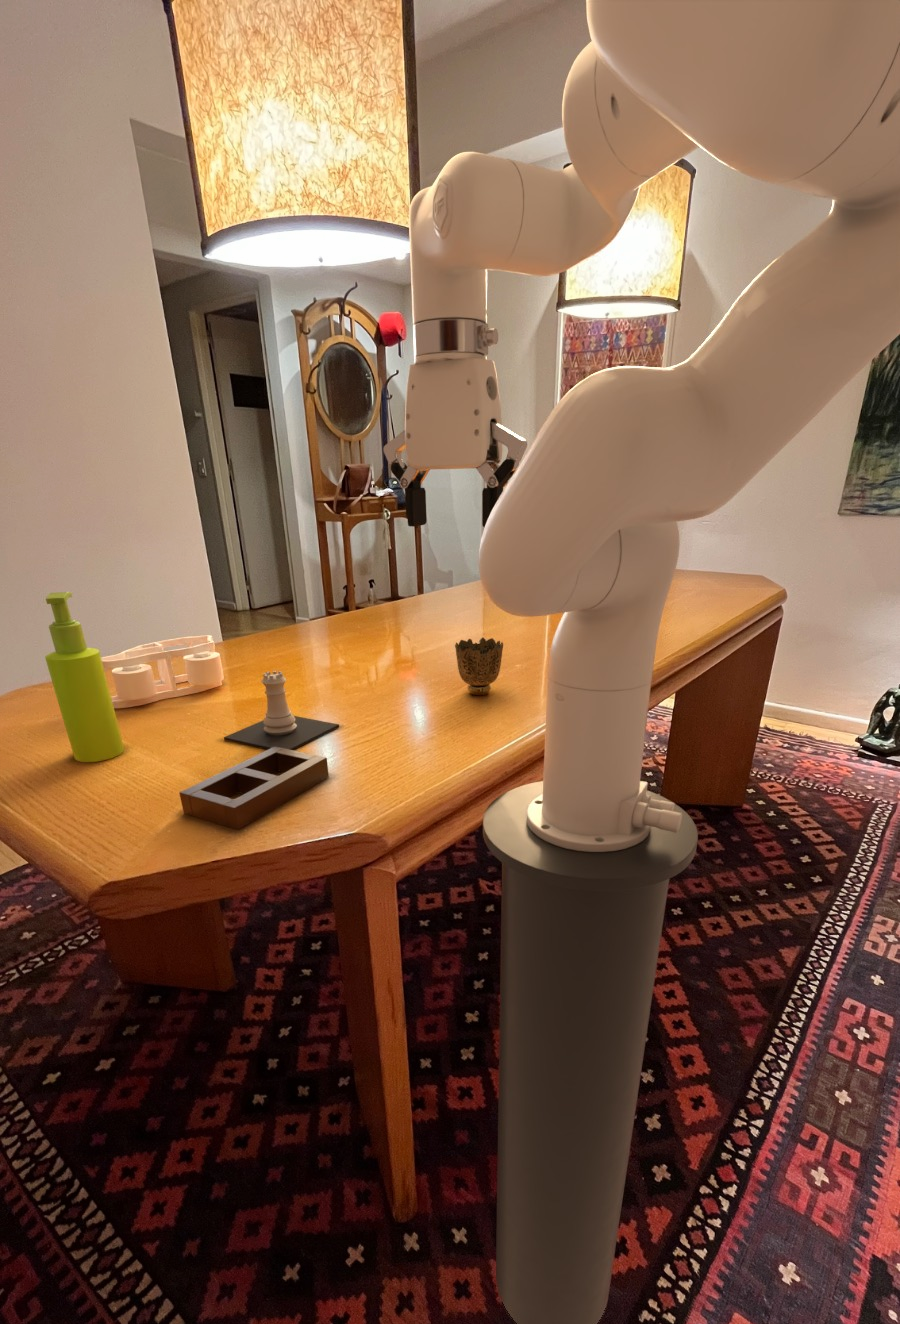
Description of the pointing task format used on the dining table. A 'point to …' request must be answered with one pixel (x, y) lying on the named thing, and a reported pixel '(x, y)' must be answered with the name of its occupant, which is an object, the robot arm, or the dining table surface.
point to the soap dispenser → (81, 688)
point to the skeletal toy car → (163, 670)
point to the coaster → (291, 741)
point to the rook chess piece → (277, 706)
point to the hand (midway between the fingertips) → (453, 526)
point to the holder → (254, 787)
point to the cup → (479, 663)
